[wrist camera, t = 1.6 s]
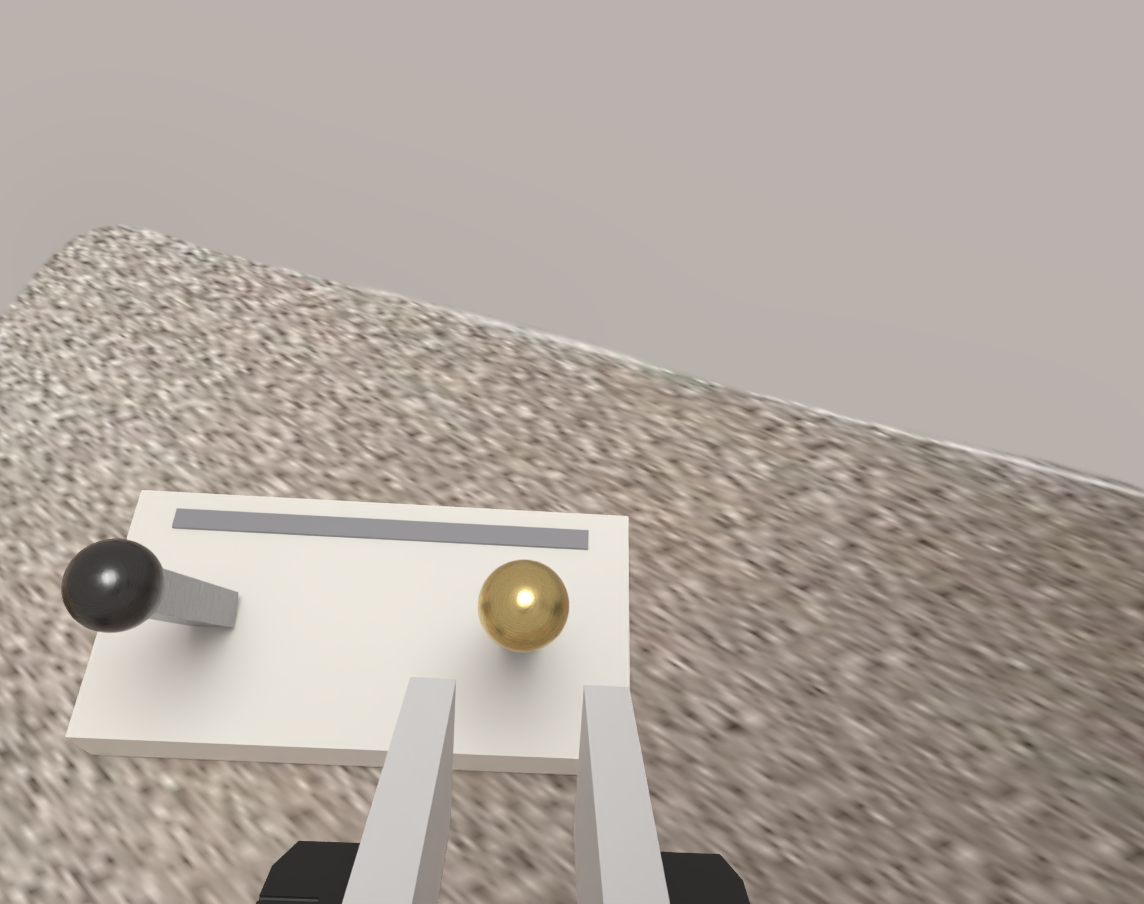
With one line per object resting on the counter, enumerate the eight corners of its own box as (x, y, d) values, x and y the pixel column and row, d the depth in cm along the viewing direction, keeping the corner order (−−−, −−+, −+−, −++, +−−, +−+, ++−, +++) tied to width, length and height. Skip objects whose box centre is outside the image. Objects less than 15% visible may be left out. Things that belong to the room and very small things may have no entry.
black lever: (244, 646, 42) (136, 632, 30) (172, 643, 42) (34, 627, 30) (254, 575, 43) (151, 534, 31) (182, 571, 43) (52, 529, 31)
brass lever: (555, 661, 43) (569, 653, 31) (485, 657, 42) (472, 648, 30) (558, 590, 43) (574, 556, 31) (489, 587, 43) (478, 551, 31)
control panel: (622, 776, 43) (630, 759, 40) (91, 754, 42) (63, 735, 39) (621, 542, 49) (628, 514, 47) (160, 518, 48) (140, 488, 45)
